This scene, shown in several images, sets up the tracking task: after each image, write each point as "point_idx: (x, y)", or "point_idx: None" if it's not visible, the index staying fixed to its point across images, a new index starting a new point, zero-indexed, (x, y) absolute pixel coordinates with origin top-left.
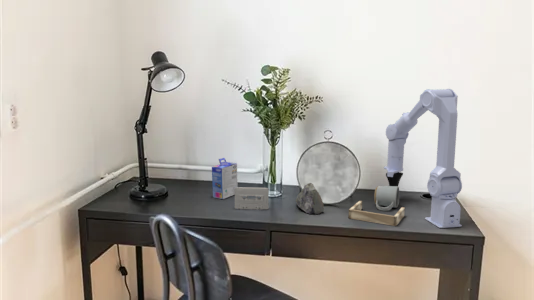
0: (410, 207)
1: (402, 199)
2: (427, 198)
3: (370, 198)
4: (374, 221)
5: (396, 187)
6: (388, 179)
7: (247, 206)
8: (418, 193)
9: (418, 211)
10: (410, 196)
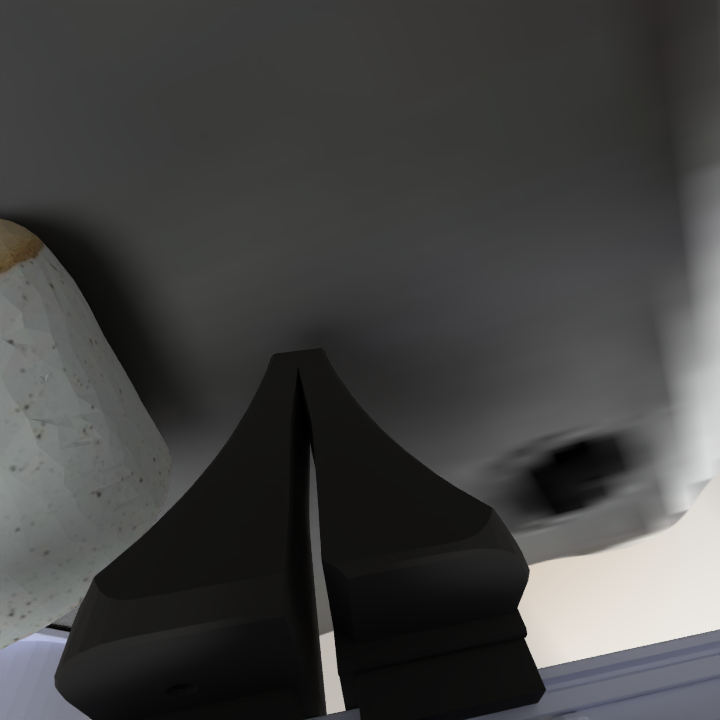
0: (184, 489)
1: (384, 375)
2: (503, 483)
3: (166, 5)
4: None
5: None
6: (180, 512)
7: None
8: (630, 405)
9: None
10: (516, 391)
